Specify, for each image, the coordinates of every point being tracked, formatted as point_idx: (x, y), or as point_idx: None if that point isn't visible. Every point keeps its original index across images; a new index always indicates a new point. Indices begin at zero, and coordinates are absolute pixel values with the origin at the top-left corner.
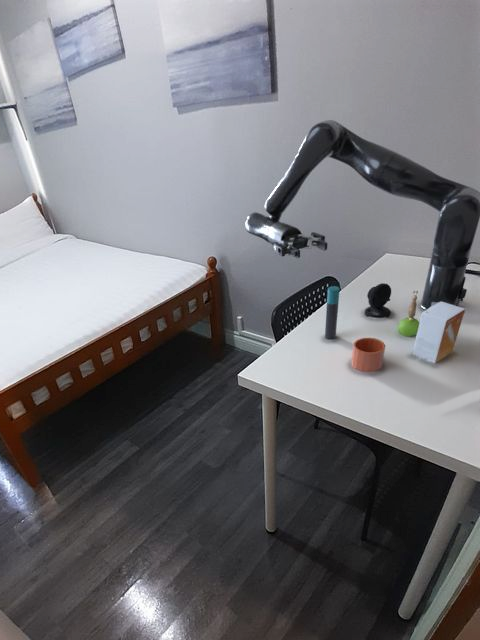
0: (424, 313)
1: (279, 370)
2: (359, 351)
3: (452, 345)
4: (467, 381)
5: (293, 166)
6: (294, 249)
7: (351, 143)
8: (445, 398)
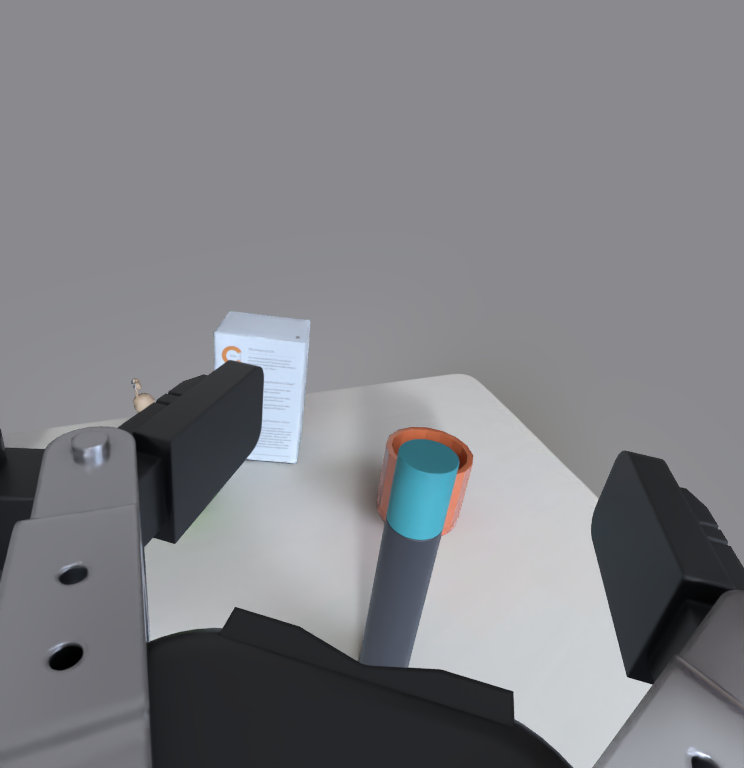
0: (305, 340)
1: None
2: (471, 454)
3: None
4: (312, 397)
5: None
6: (687, 513)
7: None
8: (384, 404)
